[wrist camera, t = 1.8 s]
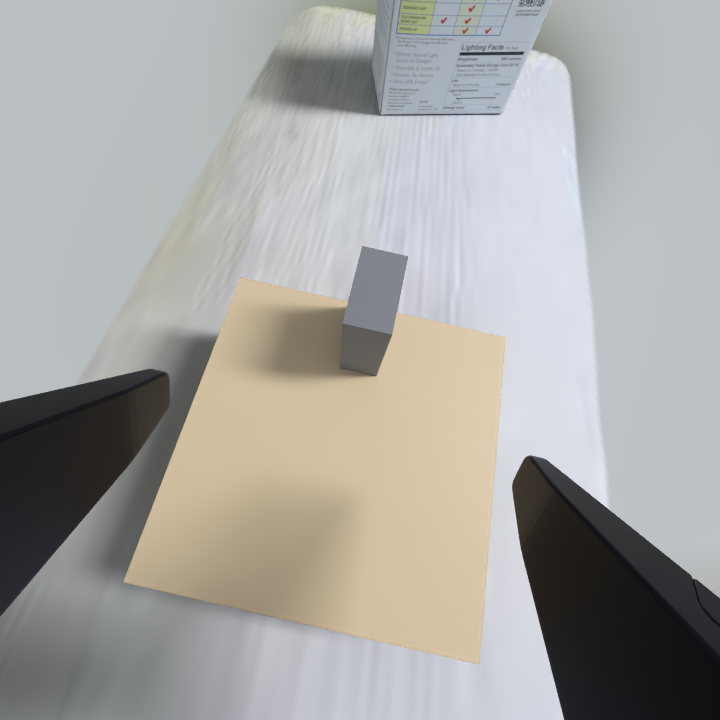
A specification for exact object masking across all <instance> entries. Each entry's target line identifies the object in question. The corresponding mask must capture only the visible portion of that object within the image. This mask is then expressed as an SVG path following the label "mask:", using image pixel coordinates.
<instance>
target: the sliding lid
mask: <svg viewBox="0 0 720 720" xmlns="http://www.w3.org/2000/svg"><path fill="white" fill-rule="evenodd" d="M407 259H408V256H404V255H399V254H395V253H391V252H386V251H382V250H377V249H373V248H368V247H364V246H362V250H361V254H360V257H359V261H358V265H357V269H356V273H355V277H354V281H353V285H352V289H351V292H350V296H349V300H348V302H347V301H343V300H338V299H334V298H330V297H325V296H321V295H316V294H312V293H307V292H303V291H299V290H294V289H290V288H285V287H281V286H277V285H272V284H268V283H263V282H259V281H254V280H250V279H246V278H240V281H239V283H238V286H237V288H236V291H235V294H234V296H233V299H232V301H231V304H230V307H229V309H228V312H227V314H226V317H225V320H224V322H223V325H222V327H221V330H220V333H219V335H218V338H217V340H216V343H215V345H214V348H213V351H212V353H211V356H210V358H209V361H208V364H207V366H206V369H205V371H204V374H203V377H202V379H201V382H200V384H199V387H198V390H197V392H196V395H195V397H194V400H193V402H192V405H191V408H190V410H189V413H188V415H187V418H186V421H185V423H184V426H183V428H182V431H181V434H180V436H179V439H178V441H177V444H176V447H175V449H174V452H173V454H172V457H171V459H170V462H169V465H168V467H167V470H166V472H165V475H164V478H163V480H162V483H161V485H160V488H159V491H158V493H157V496H156V498H155V501H154V504H153V506H152V509H151V511H150V514H149V516H148V519H147V522H146V524H145V527H144V529H143V532H142V535H141V537H140V540H139V542H138V545H137V548H136V550H135V553H134V555H133V558H132V561H131V563H130V566H129V568H128V571H127V574H126V576H125V579H124V581H123V582H124V583H129V584H133V585H137V586H142V587H146V588H150V589H155V590H159V591H163V592H168V593H172V594H176V595H180V596H185V597H189V598H193V599H198V600H202V601H206V602H211V603H215V604H219V605H224V606H228V607H232V608H237V609H241V610H245V611H250V612H254V613H258V614H263V615H267V616H271V617H275V618H280V619H284V620H288V621H293V622H297V623H301V624H306V625H310V626H314V627H319V628H323V629H327V630H332V631H336V632H340V633H345V634H349V635H353V636H358V637H362V638H366V639H370V640H375V641H379V642H383V643H388V644H392V645H396V646H401V647H405V648H409V649H414V650H418V651H422V652H427V653H431V654H435V655H440V656H444V657H448V658H453V659H457V660H461V661H465V662H470V663H474V664H478V665H479V663H480V650H481V638H482V626H483V613H484V601H485V588H486V576H487V563H488V551H489V538H490V526H491V513H492V501H493V488H494V476H495V463H496V451H497V439H498V426H499V414H500V401H501V389H502V376H503V364H504V351H505V339H506V337H502V336H498V335H493V334H489V333H484V332H480V331H476V330H471V329H467V328H462V327H458V326H453V325H449V324H445V323H440V322H436V321H431V320H427V319H422V318H418V317H414V316H409V315H405V314H400V313H397V309H398V304H399V299H400V294H401V289H402V284H403V279H404V274H405V269H406V264H407Z"/></svg>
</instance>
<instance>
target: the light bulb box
mask: <svg viewBox="0 0 720 720" xmlns="http://www.w3.org/2000/svg"><path fill="white" fill-rule="evenodd" d="M552 1H553V0H377V10H376V22H375V35H374V48H373V59H372V69H373V76H374V82H375V88H376V95H377V101H378V108H379V114H380V115H383V114H487V113H503V111H504V109H505V107H506V104H507V102H508V100H509V98H510V95H511V93H512V91H513V89H514V86H515V84H516V82H517V80H518V78H519V75H520V73H521V71H522V68H523V66H524V64H525V62H526V60H527V57H528V55H529V53H530V50H531V48H532V46H533V44H534V41H535V39H536V37H537V35H538V33H539V30H540V28H541V26H542V24H543V21H544V19H545V17H546V15H547V13H548V10H549V8H550V5H551V3H552Z"/></svg>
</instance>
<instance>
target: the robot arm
mask: <svg viewBox="0 0 720 720" xmlns="http://www.w3.org/2000/svg"><path fill="white" fill-rule="evenodd" d="M169 404H170V384H169V375H168V374H167V373H166V372H163V371H159V370H154V369H147V370H142V371H138V372H133V373H129V374H125V375H120V376H116V377H111V378H107V379H102V380H98V381H94V382H89V383H85V384H80V385H76V386H71V387H67V388H63V389H58V390H54V391H49V392H45V393H40V394H36V395H32V396H27V397H23V398H19V399H14V400H9V401H5V402H1V403H0V616H1V615H2V614H3V613H4V612H5V611H6V609H7V608H8V607H9V606H10V605H11V603H12V602H13V601H14V600H15V599H16V598H17V596H18V595H19V594H20V593H21V592H22V590H23V589H24V588H25V587H26V586H27V585H28V583H29V582H30V581H31V580H32V579H33V578H34V576H35V575H36V574H37V573H38V572H39V570H40V569H41V568H42V567H43V566H44V565H45V563H46V562H47V561H48V560H49V559H50V557H51V556H52V555H53V554H54V553H55V552H56V550H57V549H58V548H59V547H60V546H61V544H62V543H63V542H64V541H65V540H66V539H67V537H68V536H69V535H70V534H71V533H72V532H73V530H74V529H75V528H76V527H77V526H78V524H79V523H80V522H81V521H82V520H83V519H84V517H85V516H86V515H87V514H88V513H89V511H90V510H91V509H92V508H93V507H94V506H95V504H96V503H97V502H98V501H99V500H100V498H101V497H102V496H103V495H104V494H105V493H106V491H107V490H108V489H109V488H110V487H111V486H112V484H113V483H114V482H115V481H116V480H117V478H118V477H119V476H120V475H121V474H122V473H123V471H124V470H125V469H126V468H127V467H128V465H129V464H130V463H131V462H132V460H133V459H134V458H135V456H136V455H137V454H138V452H139V451H140V449H141V448H142V446H143V445H144V444H145V442H146V441H147V439H148V438H149V436H150V435H151V433H152V432H153V430H154V429H155V427H156V426H157V424H158V423H159V421H160V420H161V418H162V417H163V416H164V414H165V413H166V411H167V409H168V407H169ZM512 491H513V498H514V505H515V512H516V519H517V526H518V533H519V540H520V546H521V551H522V555H523V559H524V563H525V567H526V571H527V575H528V579H529V583H530V587H531V591H532V595H533V599H534V603H535V607H536V611H537V614H538V618H539V622H540V626H541V630H542V634H543V638H544V642H545V646H546V650H547V654H548V658H549V662H550V666H551V670H552V673H553V677H554V681H555V685H556V689H557V693H558V697H559V701H560V705H561V709H562V713H563V717H564V720H720V598H719V597H717V596H716V595H715V594H714V593H712V592H711V591H710V590H709V589H707V588H706V587H705V586H704V585H703V584H701V583H700V582H699V581H698V580H696V579H692V576H691V575H690V574H689V573H687V572H686V571H685V570H683V569H682V568H681V567H680V566H679V565H677V564H676V563H675V562H674V561H672V560H671V559H670V558H669V557H667V556H666V555H665V554H664V553H662V552H661V551H660V550H659V549H657V548H656V547H655V546H654V545H652V544H651V543H650V542H649V541H647V540H646V539H645V538H644V537H642V536H641V535H640V534H639V533H637V532H636V531H635V530H634V529H632V528H631V527H630V526H629V525H627V524H626V523H625V522H624V521H622V520H621V519H620V518H619V517H617V516H616V515H615V514H614V513H612V512H611V511H610V510H609V509H607V508H606V507H605V506H604V505H602V504H601V503H600V502H599V501H597V500H596V499H595V498H594V497H592V496H591V495H590V494H589V493H587V492H586V491H585V490H584V489H582V488H581V487H580V486H579V485H577V484H576V483H575V482H574V481H572V480H571V479H570V478H569V477H567V476H566V475H565V474H564V473H562V472H561V471H560V470H559V469H557V468H556V467H555V466H554V465H552V464H551V463H550V462H549V461H547V460H546V459H544V458H540V457H535V456H531V455H529V456H527V457H526V458H525V459H524V460H523V462H522V464H521V466H520V468H519V470H518V472H517V474H516V476H515V478H514V480H513V485H512Z"/></svg>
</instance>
